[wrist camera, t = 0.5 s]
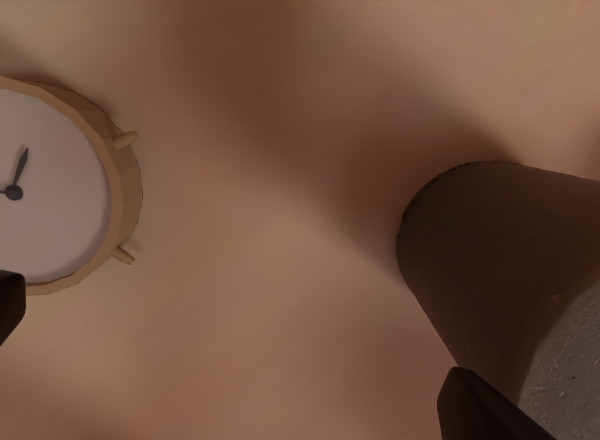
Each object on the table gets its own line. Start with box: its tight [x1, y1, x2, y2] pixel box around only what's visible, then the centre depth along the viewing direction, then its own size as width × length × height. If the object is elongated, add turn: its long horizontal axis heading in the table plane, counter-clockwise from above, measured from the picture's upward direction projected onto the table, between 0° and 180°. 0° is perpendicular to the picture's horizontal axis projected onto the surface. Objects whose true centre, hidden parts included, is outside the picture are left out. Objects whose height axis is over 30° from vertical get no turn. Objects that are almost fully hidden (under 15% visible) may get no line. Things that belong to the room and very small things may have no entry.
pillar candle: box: [397, 161, 600, 440], centre depth 16 cm, size 10×10×15 cm
